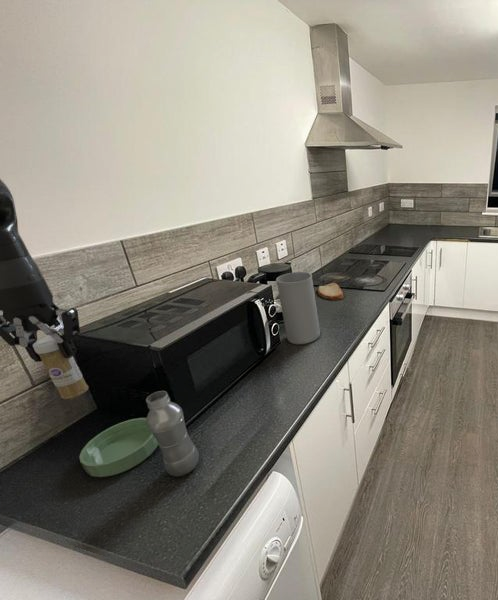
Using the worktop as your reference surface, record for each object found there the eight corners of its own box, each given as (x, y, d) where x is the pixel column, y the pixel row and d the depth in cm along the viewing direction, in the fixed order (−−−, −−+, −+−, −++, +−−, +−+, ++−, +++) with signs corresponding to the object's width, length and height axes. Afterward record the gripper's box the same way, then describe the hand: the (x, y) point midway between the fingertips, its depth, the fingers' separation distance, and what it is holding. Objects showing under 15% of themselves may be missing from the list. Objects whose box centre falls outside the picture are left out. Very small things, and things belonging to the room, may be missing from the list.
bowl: (70, 484, 69) (62, 471, 68) (111, 435, 82) (105, 423, 81) (143, 471, 72) (137, 458, 70) (172, 425, 85) (167, 413, 83)
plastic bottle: (170, 486, 68) (137, 413, 60) (166, 466, 73) (135, 395, 65) (204, 469, 72) (177, 397, 64) (198, 450, 77) (173, 382, 69)
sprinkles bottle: (58, 402, 68) (27, 348, 63) (65, 391, 72) (36, 338, 66) (87, 394, 70) (59, 341, 65) (92, 383, 74) (65, 332, 69)
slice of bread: (341, 300, 160) (340, 293, 159) (308, 298, 164) (307, 291, 163) (354, 288, 176) (353, 281, 175) (324, 286, 180) (323, 280, 179)
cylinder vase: (290, 348, 119) (278, 285, 110) (285, 334, 130) (274, 275, 120) (323, 340, 124) (314, 279, 114) (316, 327, 135) (308, 270, 125)
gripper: (72, 271, 65) (106, 344, 72) (-12, 278, 63) (31, 353, 69) (42, 283, 58) (82, 362, 65) (-53, 292, 56) (-1, 373, 63)
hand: (56, 357), depth 67 cm, fingers closed on sprinkles bottle, 4 cm apart
